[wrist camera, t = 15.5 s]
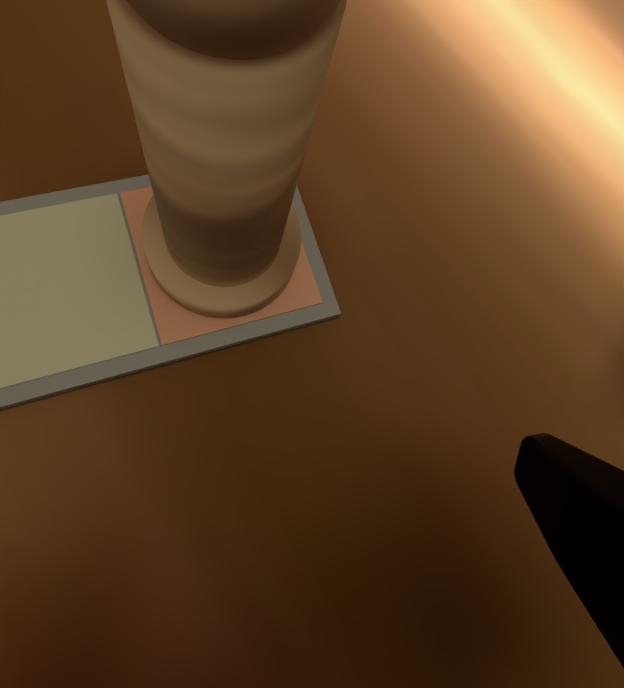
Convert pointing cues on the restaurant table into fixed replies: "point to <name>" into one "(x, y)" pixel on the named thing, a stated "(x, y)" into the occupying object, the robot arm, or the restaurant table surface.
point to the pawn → (224, 138)
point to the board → (115, 294)
